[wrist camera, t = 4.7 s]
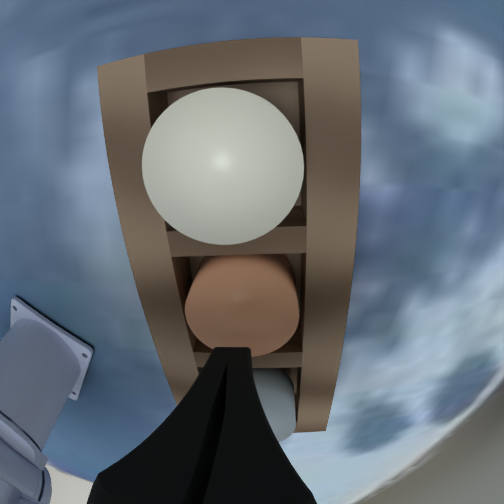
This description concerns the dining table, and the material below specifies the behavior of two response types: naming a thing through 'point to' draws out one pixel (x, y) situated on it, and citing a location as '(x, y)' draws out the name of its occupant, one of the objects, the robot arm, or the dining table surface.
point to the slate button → (276, 400)
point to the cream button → (222, 166)
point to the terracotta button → (244, 302)
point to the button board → (275, 241)
